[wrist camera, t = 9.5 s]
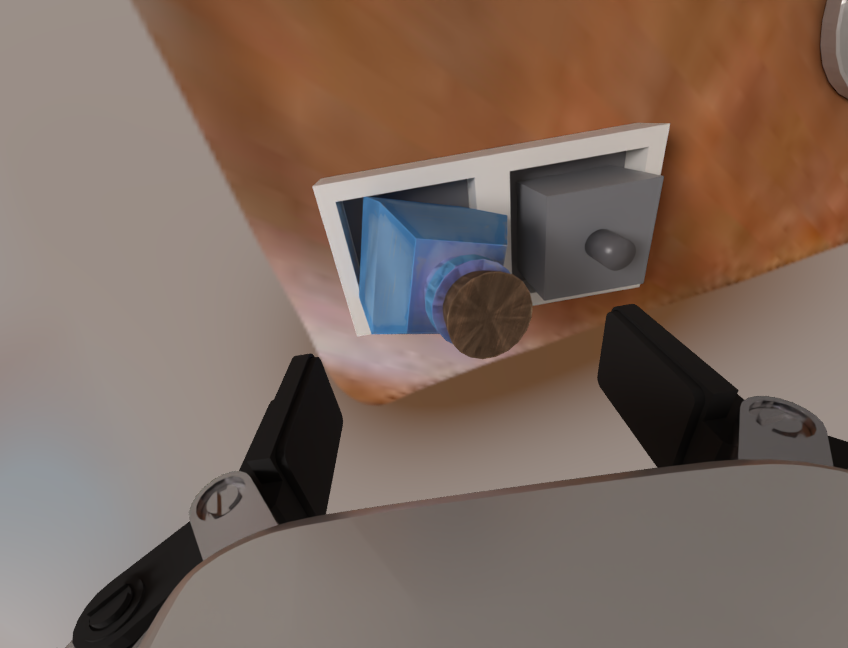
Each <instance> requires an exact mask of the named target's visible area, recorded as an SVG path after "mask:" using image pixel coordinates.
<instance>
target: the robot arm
mask: <svg viewBox="0 0 848 648" xmlns="http://www.w3.org/2000/svg"><path fill="white" fill-rule="evenodd" d="M820 47H821V55H822V64H823V68H824V70H825V73H826V76H827V78H828V81H829V82H830V84H831V85H832V86H833V87H834V89H835V90H836V91H837V92H838V93H839V94H840V95H842V96H844V97H846V98H847V99H848V0H827V3H826V7H825V12H824V16H823V20H822V31H821V43H820ZM597 378H598V383H599V385H600V388H601V389H602V390H603V392H604V393H605V395H606V396H607V398H608V399H609V400H610V402H611V403H612V405H613V406H614V407H615V409H616V410H617V412H618V413H619V414H620V416H621V417H622V419H623V420H624V421H625V423H626V424H627V425H628V427H629V428H630V430H631V431H632V433H633V434H634V435H635V437H636V438H637V440H638V441H639V442H640V444H641V445H642V447H643V448H644V449H645V451H646V452H647V454H648V455H649V456H650V458H651V459H652V461H653V462H654V463H655V465H656V466H657V468H652V469H644V470H636V471H630V472H622V473H614V474H606V475H599V476H591V477H584V478H576V479H569V480H561V481H554V482H547V483H539V484H532V485H525V486H518V487H510V488H503V489H496V490H489V491H482V492H474V493H467V494H460V495H453V496H446V497H440V498H432V499H425V500H419V501H411V502H405V503H397V504H390V505H383V506H377V507H371V508H364V509H358V510H351V511H345V512H339V513H333V514H326V510H327V505H328V499H329V494H330V489H331V484H332V479H333V473H334V468H335V463H336V458H337V453H338V447H339V442H340V437H341V431H342V426H343V418H342V414H341V411H340V408H339V406H338V403H337V401H336V398H335V396H334V393H333V390H332V388H331V386H330V383H329V380H328V377H327V375H326V372H325V370H324V367H323V364H322V362H321V360H320V358H319V357H314V355H313V354H305V355H299V356H294V357H293V358H292V361H291V363H290V365H289V367H288V369H287V372H286V374H285V376H284V378H283V381H282V383H281V385H280V387H279V390H278V392H277V394H276V396H275V399H274V400H272V401H271V403H270V404H269V406H268V408H267V410H266V413H265V415H264V417H263V419H262V422H261V424H260V426H259V428H258V430H257V432H256V435H255V437H254V439H253V441H252V444H251V446H250V448H249V450H248V452H247V454H246V457H245V459H244V461H243V463H242V465H241V468H240V470H239V471H232V472H229V473H226V474H223V475H221V476H219V477H217V478H215V479H213V480H212V481H211V482H210V483H208V484H207V485H206V486H205V487H204V488H203V489H202V490H201V491H200V492H199V493H198V494H197V496H196V497H195V499H194V500H193V502H192V504H191V507H190V510H189V519H190V521H189V522H188V523H187V524H186V525H185V526H183V527H182V528H181V529H179V530H178V531H176V532H175V533H174V534H173V535H171V536H170V537H169V538H167V539H166V540H165V541H164V542H162V543H161V544H160V545H158V546H157V547H156V548H154V549H153V550H152V551H150V552H149V553H148V554H147V555H145V556H144V557H143V558H142V559H140V560H139V561H137V562H136V563H135V564H133V565H132V566H131V567H130V568H129V569H127V570H126V571H124V572H123V573H122V574H120V575H119V576H118V577H116V578H115V579H114V580H113V581H111V582H110V583H109V584H108V585H107V586H106V587H104V588H103V589H102V590H101V591H100V592H99V593H97V595H96V596H95V597H94V598H93V599H92V600H91V602H90V603H89V604H88V605H87V606H86V608H85V609H84V611H83V613H82V614H81V616H80V617H79V619H78V621H77V624H76V626H75V629H74V631H73V640H72V641H71V642H70V643H69V644H68V645H67V646H66V647H65V648H848V442H846V441H843V440H840V439H837V438H834V437H831V436H828V435H827V430H826V428H825V426H824V424H823V422H822V421H821V420H820V419H819V418H818V417H817V416H815V415H814V414H813V413H811V412H810V411H808V410H807V409H805V408H803V407H801V406H799V405H797V404H795V403H793V402H789V401H786V400H783V399H780V398H775V397H769V396H755V397H750V398H747V399H746V400H744V399H743V398H741V397H740V396H739V395H738V394H737V392H738V389H736V388H735V387H734V386H733V385H732V384H730V383H729V382H728V381H727V380H726V379H724V378H723V377H722V376H721V375H720V374H718V373H717V372H716V371H715V370H714V369H712V368H711V367H710V366H709V365H708V364H706V363H705V362H704V361H703V360H702V359H700V358H699V357H698V356H697V355H696V354H694V353H693V352H692V351H691V350H690V349H688V348H687V347H686V346H685V345H683V344H682V343H681V342H680V341H679V340H678V339H676V338H675V337H674V336H673V335H672V334H670V333H669V332H668V331H667V330H665V329H664V328H663V327H662V326H661V325H660V324H658V323H657V322H656V321H655V320H653V319H652V318H651V317H650V316H649V315H647V314H646V313H645V312H644V311H643V310H642V309H640V308H639V307H638V306H637V305H635V304H629V305H623V306H616V307H614V308H613V309H612V311H611V312H609V313H608V314H607V316H606V322H605V329H604V336H603V343H602V349H601V356H600V363H599V369H598V377H597Z"/></svg>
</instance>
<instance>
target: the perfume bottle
mask: <svg viewBox="0 0 848 648" xmlns="http://www.w3.org/2000/svg"><path fill="white" fill-rule="evenodd" d="M506 250H507V215H503V214H498V213H493V212H487V211H482V210H477V209H471V208H466V207H461V206H451V205H442V204H433V203H423V202H414V201H405V200H396V199H386V198H377V197H368V196H366V197H363V216H362V238H361V260H360V283H359V299H360V302H361V304H362V307H363V310H364V313H365V316H366V319H367V322H368V325H369V328H370V331H371V334H441V336H442V337H443V338H444V339H445V340H446V341H448V342H450V343H452V344H454V346H455V347H456V348H457V349H458V350H459V351H460V352H461V353H463V354H465V355H467V356H469V357H472V358H479V359H486V358H491V357H496V356H498V355H500V354H502V353H504V352H507V351H508V350H510V349H511V348H512V347H513V346H514V345H515V344H517V343H518V342H519V340H520V339H521V338H522V336H523V335H524V333H525V332H526V331H527V328H528V326H529V323H530V320H531V318H532V306H533V304H532V299H531V295H530V292H529V290H528V288H527V287H526V285H525V284H524V282H523V281H521V280H520V279H519V278H517V277H516V276H514V275H513V274H511V273H510V272H509V270H508V269H506V268H505V267H503V266H504V261H505V255H506Z"/></svg>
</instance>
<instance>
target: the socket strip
mask: <svg viewBox="0 0 848 648" xmlns="http://www.w3.org/2000/svg"><path fill="white" fill-rule="evenodd" d="M669 127H670V123H633V124H628V125H622V126H616V127H611V128H605V129H599V130H594V131H588V132H582V133H577V134H571V135H565V136H560V137H554V138H548V139H543V140H537V141H531V142H526V143H520V144H514V145H509V146H503V147H497V148H492V149H486V150H480V151H475V152H469V153H463V154H458V155H452V156H446V157H440V158H435V159H429V160H423V161H418V162H412V163H406V164H401V165H395V166H389V167H384V168H378V169H372V170H367V171H361V172H355V173H350V174H344V175H338V176H333V177H327V178H321V179H320V180H319V181H318V182H317V183H316V184H315V185H314V186H312V187H313V190H314V193H315V197H316V200H317V203H318V207H319V210H320V213H321V217H322V220H323V224H324V227H325V230H326V234H327V237H328V240H329V244H330V247H331V250H332V254H333V257H334V260H335V264H336V267H337V270H338V274H339V277H340V280H341V284H342V287H343V290H344V294H345V297H346V300H347V304H348V307H349V310H350V314H351V317H352V321H353V324H354V327H355V331H356V334H357V337H358V336H364V335H369V334H371V331H370V328H369V325H368V322H367V319H366V316H365V313H364V310H363V307H362V304H361V302H360V299H359V283H360V260H361V238H362V216H363V197H366V196H368V197H377V198H386V199H396V200H405V201H414V202H423V203H433V204H442V205H451V206H461V207H466V208H471V209H477V210H482V211H487V212H493V213H498V214H503V215H507V250H506V255H505V261H504V266H503V267H505V268H506V269H508V270H509V272H510V273H511V274H513V275H514V276H516V277H517V278H519V279H520V280H521V281H523V282H524V284H525V285H526V287H527V288H528V290H529V292H530V295H531V299H532V304H533V306H534V305H540V304H545V303H551V302H557V301H562V300H568V299H574V298H579V297H585V296H591V295H596V294H602V293H608V292H613V291H619V290H625V289H630V288H636V287H640V284H637V285H631V286H625V287H620V288H614V289H608V290H603V291H597V292H591V293H586V294H580V295H574V296H569V297H563V298H557V299H552V300H546V301H544V300H543V299H542V298H541V297H540V296H539V294H538V293H537V292H536V291H535V290H534V289H533V287H532V286H531V285H530V284H529V283H528V282H527V281H526V279H525V278H524V277H523V276H522V275H521V274H520V272H519V271H518V260H517V181H523V180H529V179H534V178H540V177H546V176H552V175H557V174H563V173H569V172H574V171H580V170H586V169H591V168H597V167H603V166H608V165H613V166H618V167H623V168H627V169H632V170H637V171H642V172H647V173H652V174H656V175H661V170H662V164H663V159H664V154H665V148H666V143H667V138H668V132H669Z"/></svg>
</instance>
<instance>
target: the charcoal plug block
mask: <svg viewBox="0 0 848 648" xmlns="http://www.w3.org/2000/svg"><path fill="white" fill-rule="evenodd" d="M663 179H664V176H661V175H656V174H652V173H647V172H642V171H637V170H632V169H627V168H623V167H618V166H613V165H608V166H603V167H597V168H591V169H586V170H580V171H574V172H569V173H563V174H557V175H552V176H546V177H540V178H534V179H529V180H523V181H517V260H518V271H519V272H520V274H521V275H522V276H523V277H524V278H525V279H526V281H527V282H528V283H529V284H530V285H531V286H532V287H533V289H534V290H535V291H536V292H537V293H538V294H539V296H540V297H541V298H542V299H543V300H544V301H546V300H552V299H557V298H563V297H569V296H574V295H580V294H586V293H591V292H597V291H603V290H608V289H614V288H620V287H625V286H631V285H637V284H643V283H644V277H645V272H646V267H647V262H648V257H649V251H650V246H651V241H652V236H653V231H654V225H655V220H656V215H657V210H658V205H659V199H660V194H661V189H662V184H663Z"/></svg>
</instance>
